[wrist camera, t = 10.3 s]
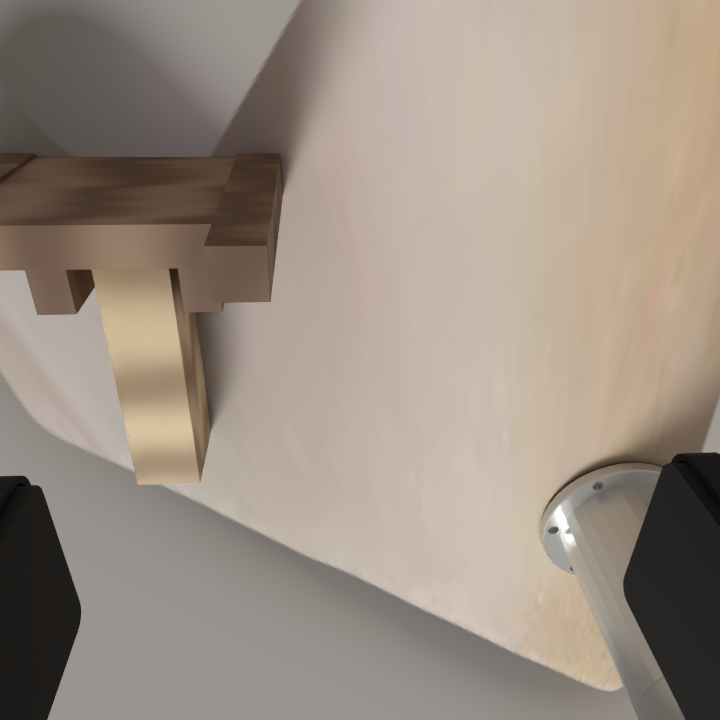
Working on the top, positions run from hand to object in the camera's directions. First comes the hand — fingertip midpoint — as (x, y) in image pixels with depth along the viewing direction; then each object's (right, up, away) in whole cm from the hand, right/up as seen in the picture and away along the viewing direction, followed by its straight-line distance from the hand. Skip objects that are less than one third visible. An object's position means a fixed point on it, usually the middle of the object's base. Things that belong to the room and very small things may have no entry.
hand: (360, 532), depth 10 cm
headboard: (-13, +11, +28) cm, 32 cm away
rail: (-13, +4, +32) cm, 35 cm away
